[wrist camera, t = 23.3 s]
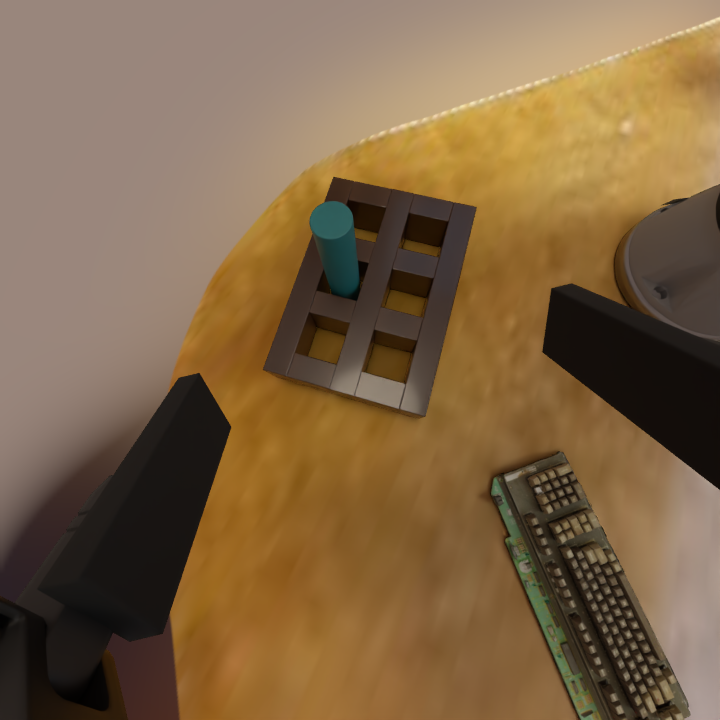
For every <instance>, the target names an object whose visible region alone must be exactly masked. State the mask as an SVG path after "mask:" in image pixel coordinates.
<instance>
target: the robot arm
mask: <svg viewBox="0 0 720 720" xmlns="http://www.w3.org/2000/svg"><path fill="white" fill-rule="evenodd" d="M668 204H671V205H668ZM663 205H668V206H666V207H663V208H660V209H658V210H656V211H654V212H653V213H651V214H650V215H648V216H647V217H646V218H644V219H643V220H642V221H641V222H639V223H638V224H637V225H635V226H634V227H633V228H632V229H631V230H630V231H629V232H628V233H627V234H626V235H625V236H624V237H623V239H622V241H621V242H620V244H619V247H618V249H617V252H616V257H615V273H616V279H617V282H618V285H619V288H620V290H621V292H622V294H623V296H624V298H625V299H626V301H627V302H628V304H629V305H630V306H631V308H632V309H631V308H629V307H627V306H624V305H622V304H620V303H617V302H615V301H612V300H610V299H608V298H605V297H603V296H601V295H598V294H596V293H593V292H591V291H589V290H586V289H584V288H582V287H579V286H577V285H574V284H568V285H563V286H559V287H555V288H551V295H550V302H549V309H548V316H547V323H546V330H545V337H544V344H543V351H542V352H543V353H544V354H545V355H547V356H548V357H549V358H551V359H552V360H553V361H554V362H556V363H557V364H558V365H560V366H561V367H562V368H563V369H565V370H566V371H567V372H569V373H570V374H571V375H572V376H574V377H575V378H576V379H578V380H579V381H580V382H581V383H583V384H584V385H585V386H587V387H588V388H589V389H590V390H592V391H593V392H594V393H596V394H597V395H598V396H599V397H601V398H602V399H603V400H605V401H606V402H607V403H609V404H610V405H611V406H612V407H614V408H615V409H616V410H618V411H619V412H620V413H621V414H623V415H624V416H625V417H627V418H628V419H629V420H630V421H632V422H633V423H634V424H636V425H637V426H638V427H639V428H641V429H642V430H643V431H645V432H646V433H647V434H648V435H650V436H651V437H652V438H654V439H655V440H656V441H657V442H659V443H660V444H661V445H663V446H664V447H665V448H666V449H668V450H669V451H670V452H672V453H673V454H674V455H675V456H677V457H678V458H679V459H681V460H682V461H683V462H684V463H686V464H687V465H688V466H690V467H691V468H692V469H694V470H695V471H696V472H697V473H699V474H700V475H701V476H703V477H704V478H705V479H706V480H708V481H709V482H710V483H712V484H713V485H714V486H715V487H717V488H718V489H719V490H720V342H719V341H720V184H719V185H716V186H714V187H712V188H709V189H707V190H704V191H702V192H700V193H698V194H696V195H693V196H691V197H689V198H682V199H675V200H672V201H670V202H667V203H665V204H663ZM230 430H231V426H230V424H229V422H228V421H227V419H226V417H225V415H224V414H223V412H222V410H221V409H220V407H219V405H218V404H217V402H216V400H215V399H214V397H213V395H212V394H211V392H210V390H209V388H208V387H207V385H206V383H205V382H204V380H203V378H202V377H201V375H200V373H197V374H193V375H189V376H185V377H180V378H178V380H177V381H176V383H175V384H174V386H173V387H172V389H171V390H170V392H169V393H168V395H167V396H166V398H165V399H164V401H163V402H162V404H161V405H160V407H159V408H158V409H157V411H156V412H155V414H154V415H153V417H152V418H151V420H150V421H149V423H148V424H147V426H146V427H145V429H144V430H143V432H142V433H141V435H140V436H139V438H138V439H137V441H136V442H135V444H134V445H133V447H132V448H131V450H130V451H129V453H128V454H127V456H126V457H125V459H124V460H123V461H122V463H121V464H120V466H119V467H118V469H117V470H116V472H115V473H114V475H111V476H109V477H108V478H107V479H106V480H105V481H104V482H103V483H102V484H101V485H100V486H99V487H98V488H97V489H96V490H95V491H94V492H93V493H92V494H91V495H90V497H89V498H88V499H87V501H86V502H85V504H84V505H83V506H82V508H81V509H80V511H79V512H78V516H77V517H75V518H74V519H73V521H72V522H71V524H70V525H69V526H68V528H67V532H66V533H65V534H63V535H62V536H61V538H60V539H59V541H58V542H57V543H56V545H55V547H54V548H53V549H52V551H51V552H50V553H49V555H48V556H47V558H46V559H45V560H44V562H43V563H42V565H41V566H40V568H39V569H38V571H37V572H36V573H35V575H34V576H33V578H32V579H31V580H30V582H29V583H28V585H27V586H26V588H25V589H24V590H23V592H22V593H21V595H20V596H19V598H18V599H17V600H16V602H15V603H13V602H11V601H9V600H7V599H5V598H3V597H1V596H0V720H128V718H127V714H126V709H125V705H124V700H123V696H122V692H121V687H120V683H119V679H118V675H117V670H116V666H115V661H114V658H113V656H112V655H111V653H110V652H109V651H108V650H106V647H107V645H108V643H109V640H110V638H111V636H112V633H115V634H117V635H119V636H120V637H122V638H124V639H126V640H127V641H129V642H131V641H135V640H138V639H143V638H147V637H151V636H155V635H159V634H163V631H164V628H165V625H166V622H167V619H168V616H169V613H170V610H171V607H172V604H173V601H174V598H175V595H176V592H177V589H178V586H179V583H180V580H181V577H182V574H183V571H184V568H185V565H186V562H187V559H188V556H189V553H190V550H191V547H192V544H193V541H194V538H195V535H196V532H197V529H198V526H199V523H200V520H201V517H202V514H203V511H204V508H205V505H206V502H207V499H208V496H209V493H210V490H211V487H212V484H213V481H214V478H215V475H216V472H217V469H218V466H219V463H220V460H221V457H222V454H223V451H224V448H225V445H226V442H227V439H228V436H229V433H230Z"/></svg>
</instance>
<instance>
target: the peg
mask: <svg viewBox="0 0 720 720" xmlns="http://www.w3.org/2000/svg"><path fill="white" fill-rule="evenodd" d="M310 227H311V230H312V233H313V237H314V240H315V243H316V246H317V249H318V252H319V255H320V258H321V262H322V265H323V268H324V271H325V274H326V277H327V280H328V283H329V287H330V290H331V293H332V295H335V296H339V297H343V298H347V299H351V300H355V301H357V299H358V296H359V293H360V290H361V288H360V278H359V269H358V259H357V250H356V240H355V230H354V221H353V215H352V212H351V210H350V209H349V208H348V207H347V206H346V205H344V204H343V203H340V202H336V201H329V202H325V203H322V204H320V205H319V206H317V207H316V208H315V209H314V210H313V212H312V214H311V216H310Z"/></svg>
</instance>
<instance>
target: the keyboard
mask: <svg viewBox="0 0 720 720" xmlns="http://www.w3.org/2000/svg"><path fill="white" fill-rule="evenodd" d="M573 470H574V469H573ZM573 470H572V468H571V466H570V464H569V462H568V460H567V459H566V457H565V455H564V453H563V452H559V451H558V453H557V454H556V455H553V456H551V457H548V458H546V459H542V460H539V461H536V462H534V463H531V464H529V465H527V466H524V467H521V468H519V469H516V470H513V471H511V472H508V473H506V474H504V473H502V474H500V475H499V476H497V477H495V478H494V479H493V483H492V487H491V493H490V494H491V497H492V498H493V500H494V503H495V504H496V505H497V507H498V509H499V512H500V515H501V518H502V520H503V522H504V525H505V527H506V529H507V531H508V533H509V535H510V536H509V537H507V538H506V540H505V544H506V546H507V549H508V551H509V553H510V555H511V558H512V560H513V563H514V565H515V567H516V569H517V572H518V574H519V577H520V579H521V581H522V584H523V586H524V588H525V591H526V593H527V597H528V599H529V602H530V604H531V606H532V608H533V610H534V612H535V615H536V617H537V620H538V622H539V625H540V627H541V629H542V631H543V634H544V637H545V639H546V642H547V644H548V646H549V649H550V651H551V654H552V656H553V658H554V661H555V663H556V666H557V668H558V670H559V672H560V674H561V676H562V678H563V681H564V684H565V687H566V689H567V692H568V694H569V696H570V699H571V701H572V704H573V706H574V708H575V710H576V712H577V714H578V717H579V719H580V720H684V719H685V718H687V717H689V716H690V711H689V709H688V707H689V706H688V701H687V699H686V697H685V695H684V693H683V691H682V689H681V687H680V685H679V683H678V681H677V679H676V677H675V675H674V672H673V670H672V668H671V666H670V664H669V662H668V660H667V658H666V656H665V654H664V652H663V650H662V648H661V646H660V644H659V642H658V640H657V638H656V636H655V634H654V632H653V630H652V628H651V626H650V624H649V622H648V620H647V618H646V616H645V614H644V612H643V610H642V607H641V606H640V603H639V601H638V599H637V597H636V595H635V593H634V591H633V589H632V587H631V585H630V583H629V581H628V579H627V577H626V575H625V574H624V571H623V568H621V565H620V563H619V560H618V559H617V556H616V555H615V553H614V550H613V549H612V547H611V545H610V544H609V542H608V540H607V538H606V537H607V536H606V534H605V532H604V530H603V528H602V526H600V524H599V521H598V518H596V517H597V516H595V514H594V512H593V510H592V508H591V506H592V505H591V506H590V504H589V502H588V500H587V498H586V495H585V493H584V491H583V489H582V487H581V486H582V485H580V483H579V482H578V480H577V477H576V476H575V474H574V472H573Z"/></svg>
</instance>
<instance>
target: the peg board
mask: <svg viewBox="0 0 720 720" xmlns="http://www.w3.org/2000/svg"><path fill="white" fill-rule="evenodd" d="M329 201H336V202H340V203H343V204H344V205H346V206H347V207H348V208H349V209H350V210H351V212H352V215H353V221H354V227H356V228H360V229H364V230H369V231H373V232H378V236H377V239H376V242H370V241H366V240H362V239H357V238H355V240H356V250H357V259H358V269H359V278H360V281H361V282H363V283H362V287H361V290H360V293H359V296H358V299H357V301H355V300H351V299H347V298H343V297H339V296H335V295H331V294H329V291H330V287H329V283H328V280H327V277H326V274H325V271H324V268H323V265H322V262H321V258H320V255H319V252H318V249H317V246H316V243H315V240H314V237H313V234H312V237H311V240H310V242H309V245H308V248H307V251H306V253H305V256H304V259H303V262H302V264H301V267H300V270H299V273H298V275H297V278H296V281H295V283H294V286H293V289H292V292H291V294H290V297H289V300H288V303H287V305H286V308H285V311H284V313H283V316H282V319H281V322H280V324H279V327H278V330H277V333H276V335H275V338H274V341H273V343H272V346H271V349H270V352H269V354H268V357H267V360H266V363H265V365H264V368H263V370H265V371H266V372H268V373H270V374H272V375H274V376H276V377H278V378H281V379H284V380H288V381H291V382H295V383H298V384H301V385H305V386H308V387H312V388H315V389H319V390H322V391H325V392H329V393H332V394H336V395H339V396H342V397H346V398H349V399H353V400H356V401H359V402H363V403H366V404H370V405H373V406H377V407H380V408H383V409H387V410H390V411H394V412H397V413H401V414H404V415H407V416H411V417H414V418H422V417H425V416H426V412H427V408H428V404H429V400H430V396H431V391H432V387H433V383H434V379H435V375H436V371H437V367H438V363H439V359H440V355H441V351H442V347H443V343H444V339H445V335H446V330H447V326H448V322H449V318H450V314H451V310H452V306H453V302H454V298H455V294H456V290H457V286H458V282H459V278H460V274H461V269H462V265H463V261H464V257H465V253H466V249H467V245H468V241H469V237H470V233H471V229H472V225H473V221H474V217H475V213H476V208H477V207H474V206H469V205H464V204H460V203H455V202H451V201H446V200H441V199H436V198H432V197H427V196H422V195H417V194H413V193H408V192H404V191H399V190H394V189H389V188H384V187H379V186H374V185H370V184H365V183H360V182H354V181H351V180H346V179H342V178H337V177H333V180H332V182H331V185H330V188H329V191H328V193H327V196H326V199H325V202H329ZM325 202H324V203H325ZM404 239H408V240H412V241H417V242H421V243H425V244H430V245H434V246H438V247H440V248H439V252H438V256H437V257H435V256H431V255H427V254H422V253H418V252H414V251H409V250H405V249H402V246H403V243H404ZM390 289H393V290H397V291H401V292H405V293H409V294H413V295H417V296H421V297H425V298H426V301H425V304H424V308H423V312H422V316H421V317H418V316H414V315H410V314H406V313H402V312H398V311H395V310H391V309H387V308H384V307H385V304H386V300H387V297H388V294H389V290H390ZM317 327H319V328H322V329H326V330H330V331H334V332H337V333H341V334H345V335H346V337H345V340H344V344H343V347H342V350H341V353H340V356H339V359H338V363H337V365H336V364H333V363H330V362H326V361H323V360H319V359H315V358H312V357H308V353H309V350H310V347H311V344H312V341H313V338H314V335H315V332H316V329H317ZM374 343H378V344H382V345H385V346H389V347H393V348H396V349H400V350H404V351H408V352H412V353H411V357H410V361H409V364H408V368H407V372H406V376H405V379H404V383H401V382H397V381H394V380H390V379H387V378H383V377H380V376H376V375H373V374H369V373H365V372H366V368H367V365H368V361H369V358H370V355H371V351H372V348H373V345H374Z"/></svg>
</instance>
